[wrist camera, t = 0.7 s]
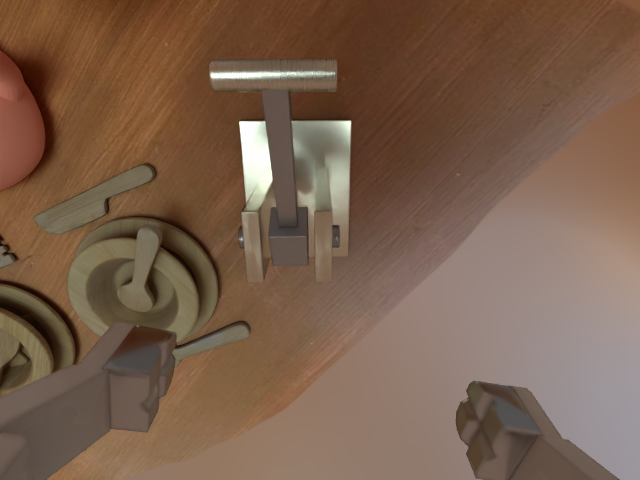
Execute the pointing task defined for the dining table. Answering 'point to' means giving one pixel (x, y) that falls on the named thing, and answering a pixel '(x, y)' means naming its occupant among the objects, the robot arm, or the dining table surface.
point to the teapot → (18, 126)
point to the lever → (279, 136)
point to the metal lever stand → (298, 191)
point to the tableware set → (111, 286)
